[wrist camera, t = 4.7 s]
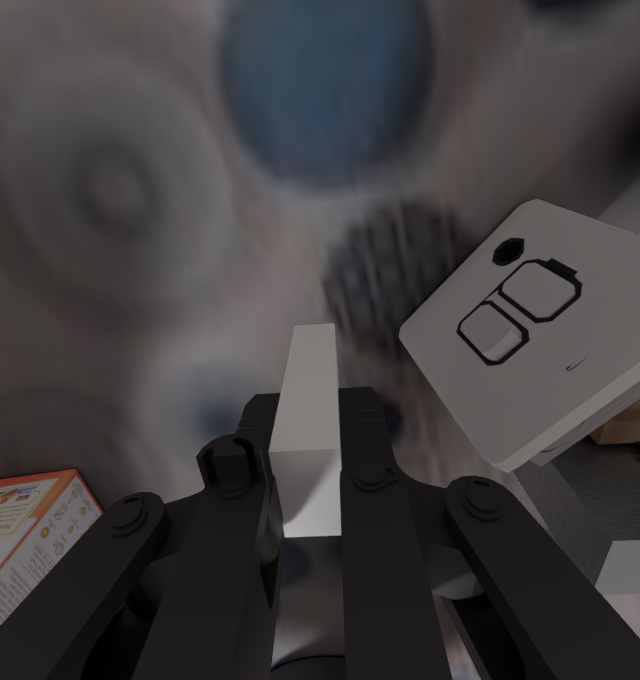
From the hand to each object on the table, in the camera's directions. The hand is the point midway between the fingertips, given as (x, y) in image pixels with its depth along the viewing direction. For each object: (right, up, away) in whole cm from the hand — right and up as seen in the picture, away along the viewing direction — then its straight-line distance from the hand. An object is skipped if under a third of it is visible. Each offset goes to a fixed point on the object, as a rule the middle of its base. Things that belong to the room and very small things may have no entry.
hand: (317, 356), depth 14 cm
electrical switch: (+9, +3, +6) cm, 12 cm away
